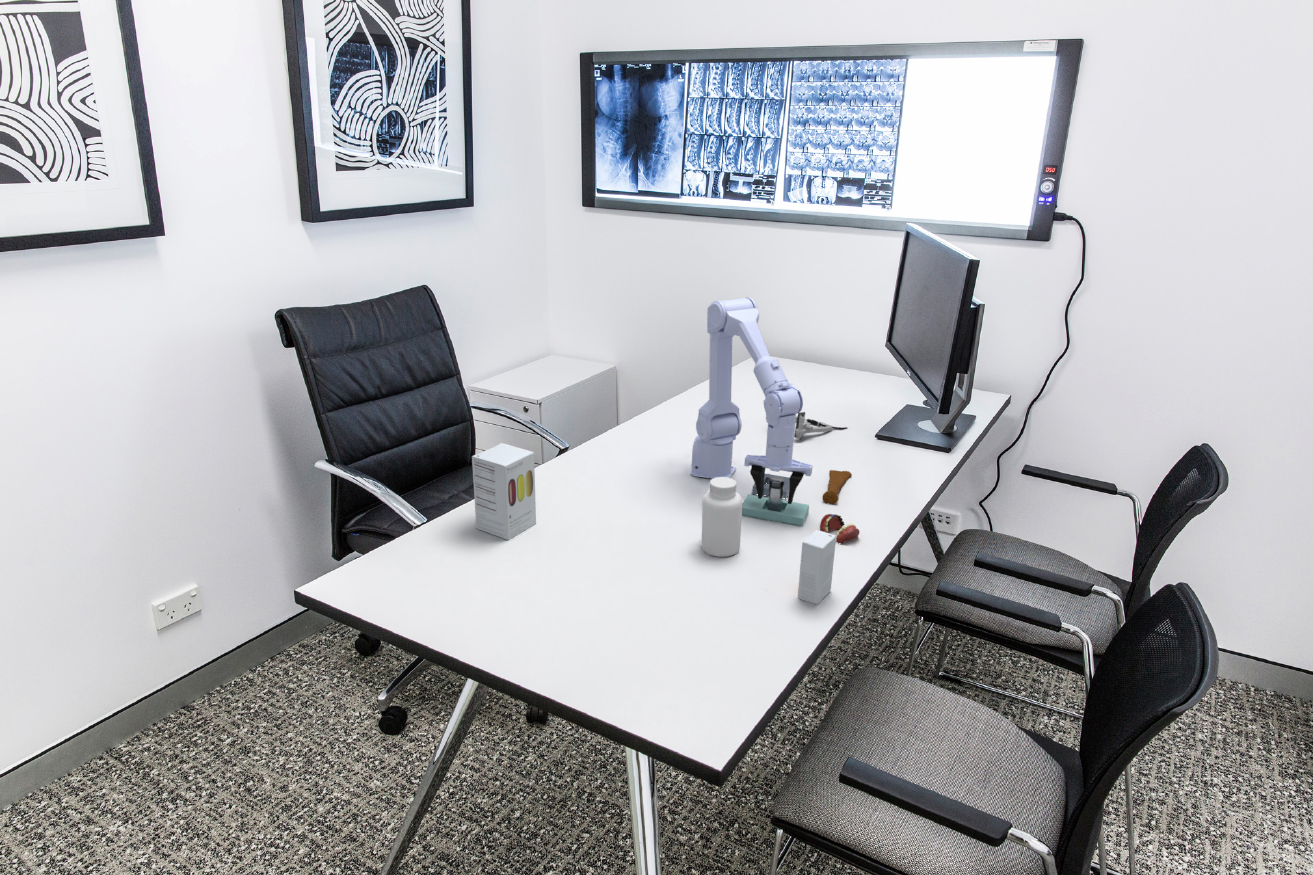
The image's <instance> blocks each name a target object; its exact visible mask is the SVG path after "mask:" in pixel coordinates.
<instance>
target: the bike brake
mask: <svg viewBox="0 0 1313 875" xmlns="http://www.w3.org/2000/svg"><path fill="white" fill-rule="evenodd" d="M794 415H795V414H794ZM805 421H806V422H805ZM812 425H814V426H815V427H814V426H812ZM817 426H818V427H817ZM833 429H834V430H847V429H848V427H847V426H845V427H841V426H840V427H839V426H838V427H836V426H833V425H830V424H827V423H825V422H823V421H818V420H815V419H811V418H807V419H806V411H800V412H799V413H797V415H796V421H795V431H794V438H795V437H796V439H801V438H802V437H803V435H806V434H810V433H811V434H812V433H814V434H815V433H826V432H827V433H828V432H830V431H833Z"/></svg>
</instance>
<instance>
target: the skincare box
mask: <svg viewBox="0 0 1313 875" xmlns="http://www.w3.org/2000/svg"><path fill="white" fill-rule="evenodd" d="M836 537H837V536H836V534H831V533H830V532H829V533H826V532H823V531H820V529H815V530H814V531H812V532H811V534H809V536H807V537H806V538H805V539H804V540H803V541H802V545H801V553H800V554H801V555H800V566H799V578H798V589H797V591H798V592H797V598H798V599H799V600H803V601H806V602H808V603H811V604H814V605H819V604H820V602H822V600H823V599H825V597H826V596H827V595H828V594H829V593H830V592H831V590H832V580H833V574H834V572H833V571H834V561H835V551H836V543H837V540H836Z"/></svg>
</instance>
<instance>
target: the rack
mask: <svg viewBox="0 0 1313 875" xmlns="http://www.w3.org/2000/svg"><path fill="white" fill-rule="evenodd" d="M767 507H768V497H767V496H762V498H761V499H758V495H755V494H749V493H748V494H747V495H746V496H745V498H744V500H743V501H742V517H745V518H747V517H748V518H751V517H752V518H753V519H759V520H764V521H768V520H769V522H773V523H779V522H780V523H779V524H786V525H790V524H791V526H796V527H801V526H802V527H803V526H804V525H805V522H806V521H807V517H808V514H809V510H810V504H807V503H801V502H795V501H792V503H791V504H788V500H784V499H783V503H782V512H777V511H771V510H767Z"/></svg>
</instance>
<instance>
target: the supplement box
mask: <svg viewBox="0 0 1313 875" xmlns="http://www.w3.org/2000/svg"><path fill="white" fill-rule="evenodd" d="M471 463H472V464H471V465H472V480H473V492H474V493H473V495H474V496H473V497H474V509H475V510H474V514H475V527H476V528H475V529H478V530H480V531H483V532H486V533H488V534H491V535H494V536H496V537H499V538H502V539H504V540H506V541H509V540H511V539H512V538H514V537H516V536H518V535H519V534H521V533H522V532H524V531H526V530H528V529H529V528H531V527H533V526H534V525H536V524H537V512H536V511H537V510H536V509H537V506H536V504H537V503H536V480H535V479H536V477H535V476H536V474H535V452H534V451H531V450H527V449H524V448H521V447H517V446H514V445H511V444H507V443H503V442H501V443H499V444H496V445H494V446H493V447H490V448H488V449H486V450H484V451H481V452H479V453H477V454H474V455H472V456H471Z"/></svg>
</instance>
